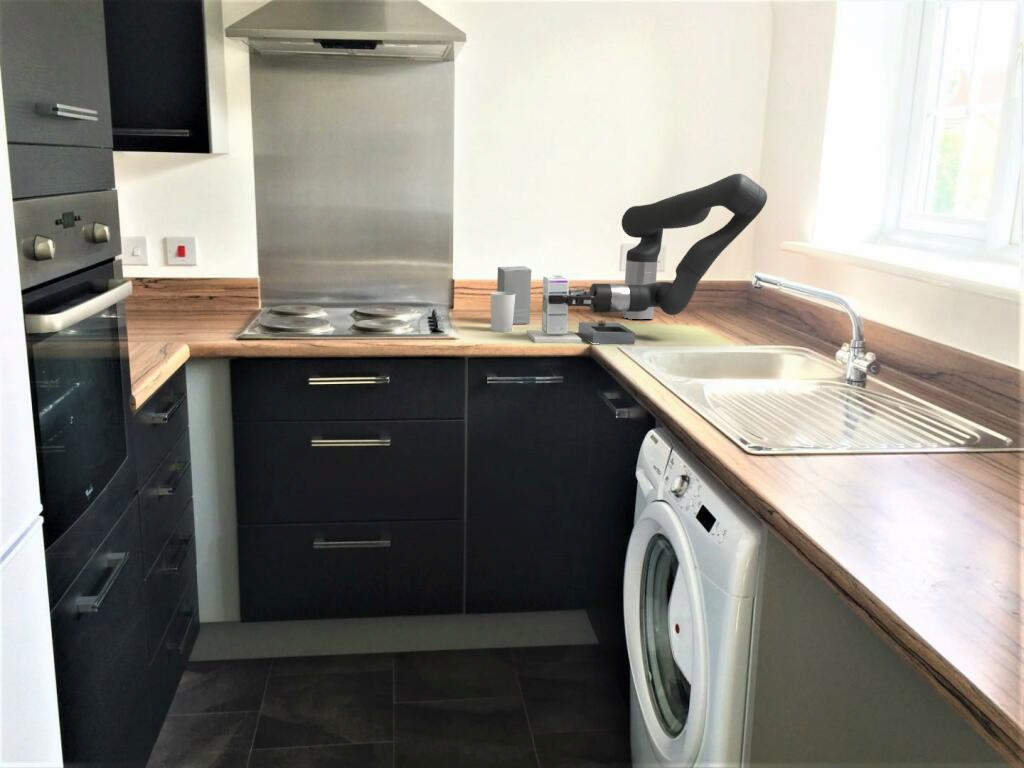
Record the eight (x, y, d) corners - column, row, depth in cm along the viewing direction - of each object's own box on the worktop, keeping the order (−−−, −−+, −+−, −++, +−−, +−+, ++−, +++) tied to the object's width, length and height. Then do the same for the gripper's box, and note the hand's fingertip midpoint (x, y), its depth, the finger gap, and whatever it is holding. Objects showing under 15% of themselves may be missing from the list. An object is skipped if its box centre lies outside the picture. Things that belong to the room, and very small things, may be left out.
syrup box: (568, 334, 241) (570, 277, 238) (545, 334, 240) (547, 277, 237) (562, 330, 247) (564, 275, 243) (540, 330, 245) (542, 274, 242)
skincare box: (522, 320, 269) (525, 265, 265) (530, 324, 262) (533, 268, 259) (494, 321, 266) (496, 265, 263) (502, 325, 260) (504, 268, 256)
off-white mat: (526, 333, 248) (526, 330, 248) (570, 334, 250) (571, 330, 250) (535, 342, 237) (535, 338, 237) (581, 342, 239) (581, 339, 239)
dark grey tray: (578, 333, 253) (579, 318, 252) (617, 333, 254) (618, 318, 254) (592, 344, 237) (593, 328, 236) (634, 344, 239) (635, 329, 238)
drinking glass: (499, 327, 257) (500, 291, 254) (518, 330, 253) (520, 293, 251) (484, 330, 251) (485, 293, 249) (504, 333, 248) (505, 295, 245)
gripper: (603, 280, 249) (541, 279, 247) (617, 287, 236) (552, 286, 233) (601, 308, 251) (540, 307, 248) (616, 316, 237) (551, 316, 235)
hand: (546, 297), depth 241 cm, fingers closed on syrup box, 6 cm apart
